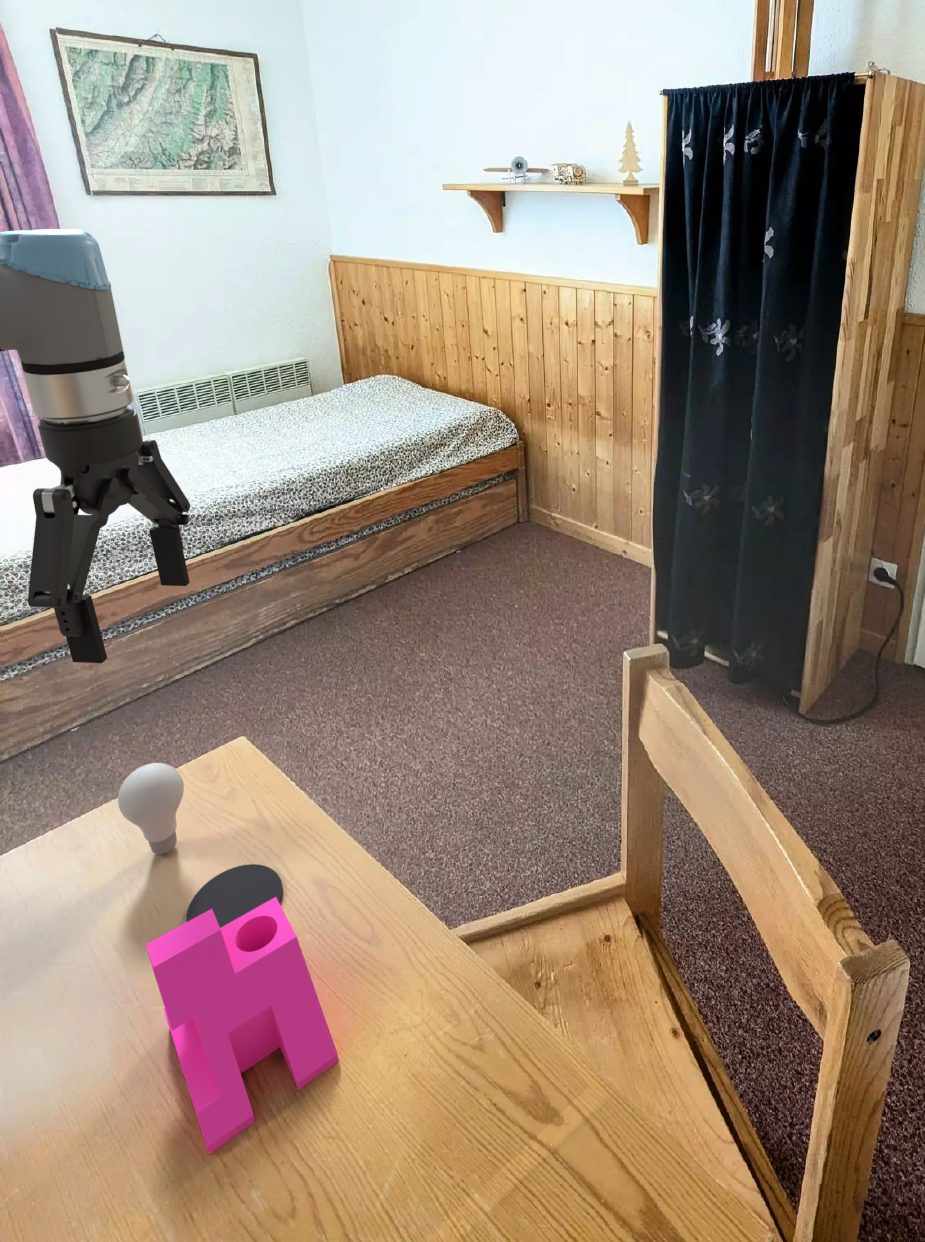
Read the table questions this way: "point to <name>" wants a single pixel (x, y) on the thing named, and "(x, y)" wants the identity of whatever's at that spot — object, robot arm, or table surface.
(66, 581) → the robot arm
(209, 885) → the coaster
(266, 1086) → the table surface
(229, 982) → the bracket
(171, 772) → the lightbulb
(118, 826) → the table surface
